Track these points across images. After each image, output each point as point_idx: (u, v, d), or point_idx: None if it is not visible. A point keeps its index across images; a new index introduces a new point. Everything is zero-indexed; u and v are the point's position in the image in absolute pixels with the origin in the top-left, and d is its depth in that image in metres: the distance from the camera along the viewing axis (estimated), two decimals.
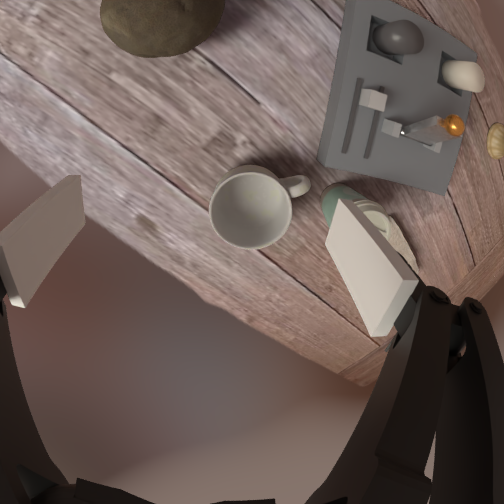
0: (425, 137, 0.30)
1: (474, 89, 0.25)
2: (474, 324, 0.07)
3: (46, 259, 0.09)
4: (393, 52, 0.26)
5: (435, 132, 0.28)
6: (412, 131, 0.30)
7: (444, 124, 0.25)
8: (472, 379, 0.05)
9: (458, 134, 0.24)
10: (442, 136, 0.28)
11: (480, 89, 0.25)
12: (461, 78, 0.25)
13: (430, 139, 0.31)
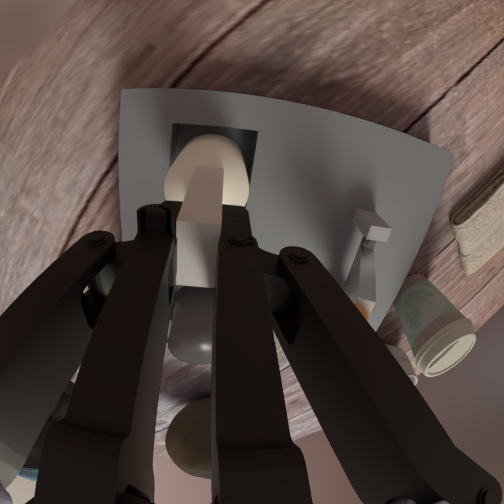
0: None
1: (242, 190, 0.16)
2: (302, 279, 0.08)
3: None
4: None
5: None
6: None
7: None
8: (325, 349, 0.06)
9: None
10: None
11: (233, 165, 0.15)
12: None
13: None
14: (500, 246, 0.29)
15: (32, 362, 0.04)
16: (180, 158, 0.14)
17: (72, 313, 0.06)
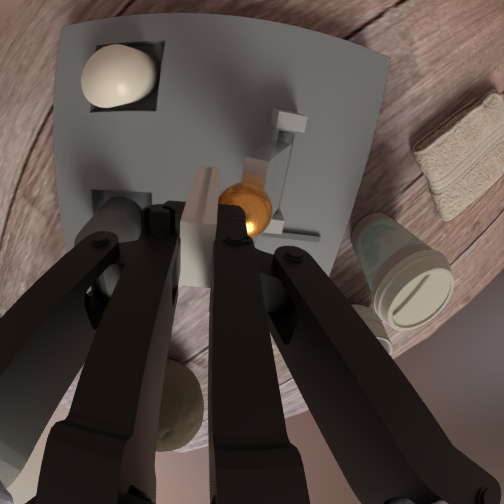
0: (279, 183, 0.19)
1: (136, 72, 0.15)
2: (298, 279, 0.08)
3: None
4: None
5: None
6: None
7: None
8: (320, 349, 0.06)
9: (266, 219, 0.13)
10: (274, 178, 0.16)
11: (129, 53, 0.14)
12: (130, 100, 0.17)
13: (282, 169, 0.18)
14: (481, 189, 0.26)
15: (34, 362, 0.04)
16: (93, 55, 0.14)
17: (75, 313, 0.06)
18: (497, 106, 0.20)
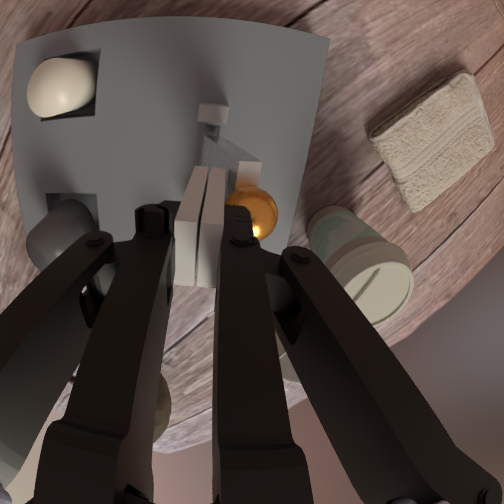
0: None
1: (69, 81, 0.14)
2: (304, 280, 0.08)
3: (199, 241, 0.12)
4: None
5: None
6: None
7: None
8: (326, 349, 0.06)
9: None
10: None
11: (64, 65, 0.13)
12: (68, 108, 0.16)
13: None
14: (454, 177, 0.26)
15: (31, 362, 0.04)
16: (35, 70, 0.13)
17: (71, 313, 0.06)
18: (467, 87, 0.20)
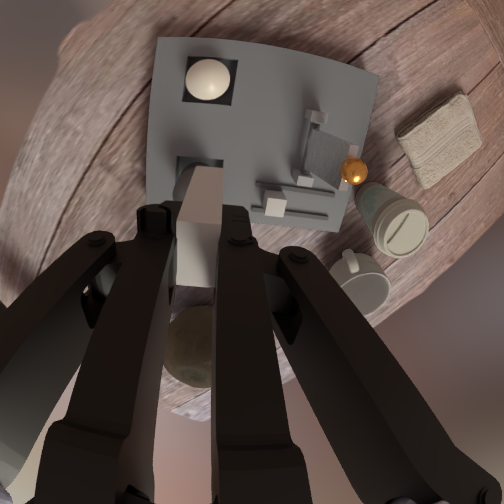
0: None
1: (226, 79, 0.26)
2: (303, 279, 0.08)
3: None
4: None
5: None
6: None
7: None
8: (325, 349, 0.06)
9: None
10: None
11: (222, 67, 0.25)
12: None
13: None
14: (452, 165, 0.38)
15: (32, 362, 0.04)
16: (195, 64, 0.25)
17: (72, 313, 0.06)
18: (462, 103, 0.32)
